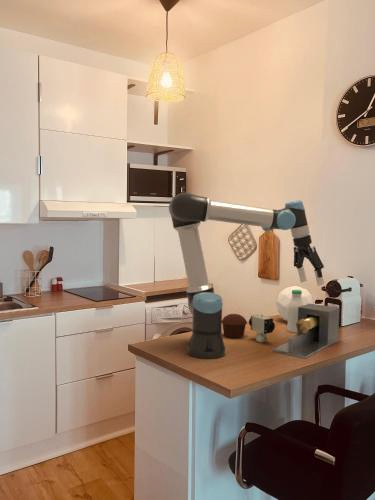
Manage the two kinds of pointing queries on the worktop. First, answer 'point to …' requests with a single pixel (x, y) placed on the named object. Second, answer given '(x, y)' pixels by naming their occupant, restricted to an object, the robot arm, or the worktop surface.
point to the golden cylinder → (307, 323)
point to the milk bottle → (294, 310)
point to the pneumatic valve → (261, 326)
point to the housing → (313, 332)
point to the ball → (286, 297)
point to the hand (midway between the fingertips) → (312, 283)
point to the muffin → (234, 326)
